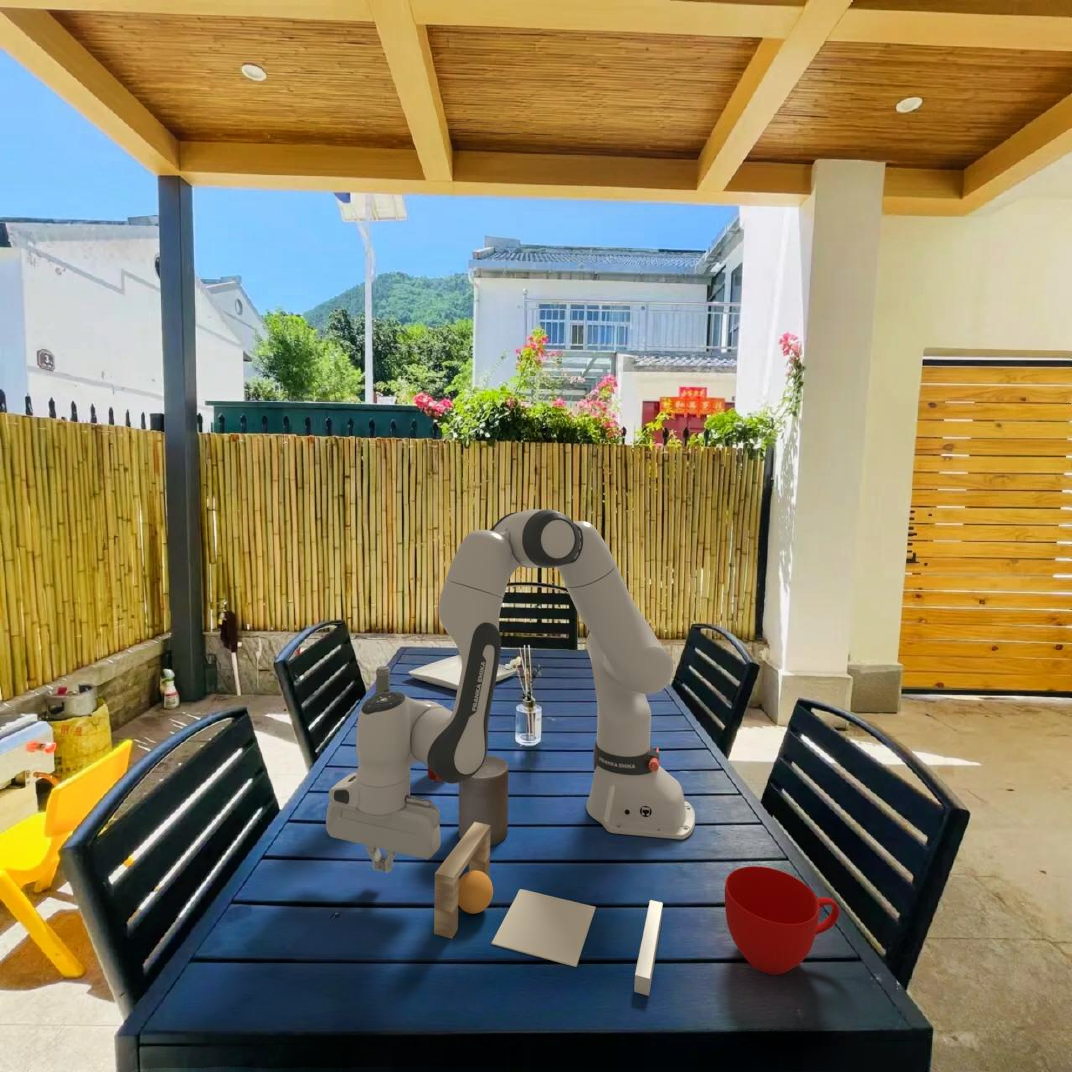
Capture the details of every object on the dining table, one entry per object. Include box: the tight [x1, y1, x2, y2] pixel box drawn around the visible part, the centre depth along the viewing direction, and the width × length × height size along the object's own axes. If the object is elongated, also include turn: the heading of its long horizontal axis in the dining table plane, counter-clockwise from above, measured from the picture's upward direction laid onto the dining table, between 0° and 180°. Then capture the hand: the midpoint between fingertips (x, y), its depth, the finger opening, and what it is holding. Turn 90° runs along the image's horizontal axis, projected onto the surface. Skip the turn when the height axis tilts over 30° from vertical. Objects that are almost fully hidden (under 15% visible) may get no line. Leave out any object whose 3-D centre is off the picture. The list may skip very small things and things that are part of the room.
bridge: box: [433, 822, 491, 939], centre depth 100 cm, size 3×15×10 cm, turn 162°
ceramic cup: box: [724, 865, 840, 976], centre depth 91 cm, size 13×17×10 cm
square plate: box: [407, 654, 518, 692], centre depth 213 cm, size 27×27×4 cm
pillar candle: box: [458, 754, 509, 847], centre depth 121 cm, size 10×10×15 cm
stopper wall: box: [633, 899, 664, 997], centre depth 92 cm, size 2×16×2 cm, turn 162°
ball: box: [458, 870, 494, 914], centre depth 99 cm, size 6×6×6 cm
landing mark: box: [491, 888, 597, 968], centre depth 97 cm, size 13×13×1 cm
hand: (382, 869), depth 105 cm, fingers closed
